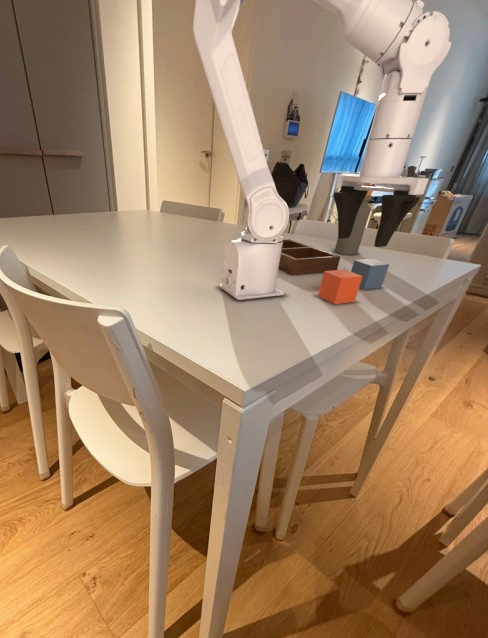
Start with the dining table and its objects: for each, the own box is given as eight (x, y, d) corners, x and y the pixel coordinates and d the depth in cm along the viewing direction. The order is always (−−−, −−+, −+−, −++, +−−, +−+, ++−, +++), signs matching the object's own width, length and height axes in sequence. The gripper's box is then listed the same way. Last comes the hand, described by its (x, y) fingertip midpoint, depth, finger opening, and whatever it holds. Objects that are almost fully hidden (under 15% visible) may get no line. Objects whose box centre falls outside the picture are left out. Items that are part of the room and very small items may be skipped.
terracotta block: (334, 304, 57) (341, 278, 55) (317, 296, 61) (324, 271, 58) (354, 301, 59) (362, 276, 56) (337, 293, 62) (344, 269, 59)
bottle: (353, 250, 92) (372, 186, 84) (360, 255, 88) (380, 187, 79) (331, 249, 93) (348, 185, 84) (337, 254, 88) (355, 187, 79)
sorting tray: (336, 271, 75) (340, 256, 73) (292, 275, 71) (295, 259, 70) (287, 251, 90) (289, 239, 88) (249, 254, 86) (250, 241, 85)
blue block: (363, 289, 64) (371, 265, 62) (347, 283, 68) (354, 260, 65) (381, 287, 65) (389, 264, 63) (364, 281, 69) (371, 258, 66)
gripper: (457, 138, 44) (416, 248, 52) (367, 142, 55) (345, 233, 63) (423, 137, 42) (385, 252, 50) (335, 141, 53) (316, 236, 61)
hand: (361, 241), depth 56 cm, fingers open, 7 cm apart
